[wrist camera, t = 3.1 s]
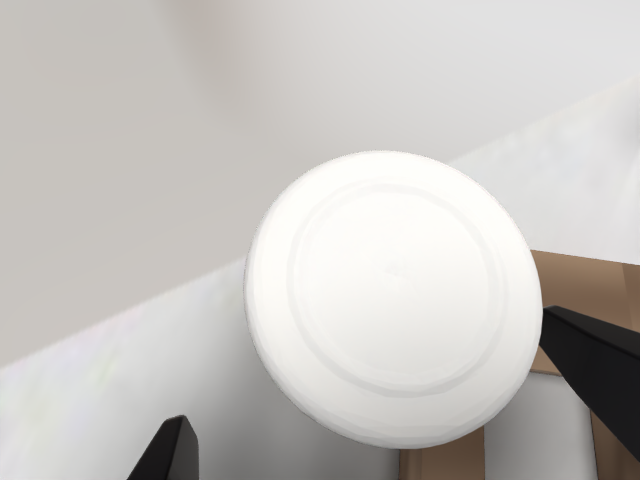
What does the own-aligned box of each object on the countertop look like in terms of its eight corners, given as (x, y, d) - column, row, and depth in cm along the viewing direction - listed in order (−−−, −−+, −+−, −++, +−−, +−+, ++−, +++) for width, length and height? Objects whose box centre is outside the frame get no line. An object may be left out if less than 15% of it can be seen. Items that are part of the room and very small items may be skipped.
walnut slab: (689, 728, 13) (794, 829, 10) (388, 686, 13) (412, 776, 10) (617, 282, 19) (672, 270, 16) (409, 252, 19) (428, 235, 16)
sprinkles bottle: (353, 278, 18) (466, 110, 6) (386, 361, 17) (625, 379, 4) (273, 306, 18) (202, 183, 5) (301, 394, 16) (296, 527, 4)
